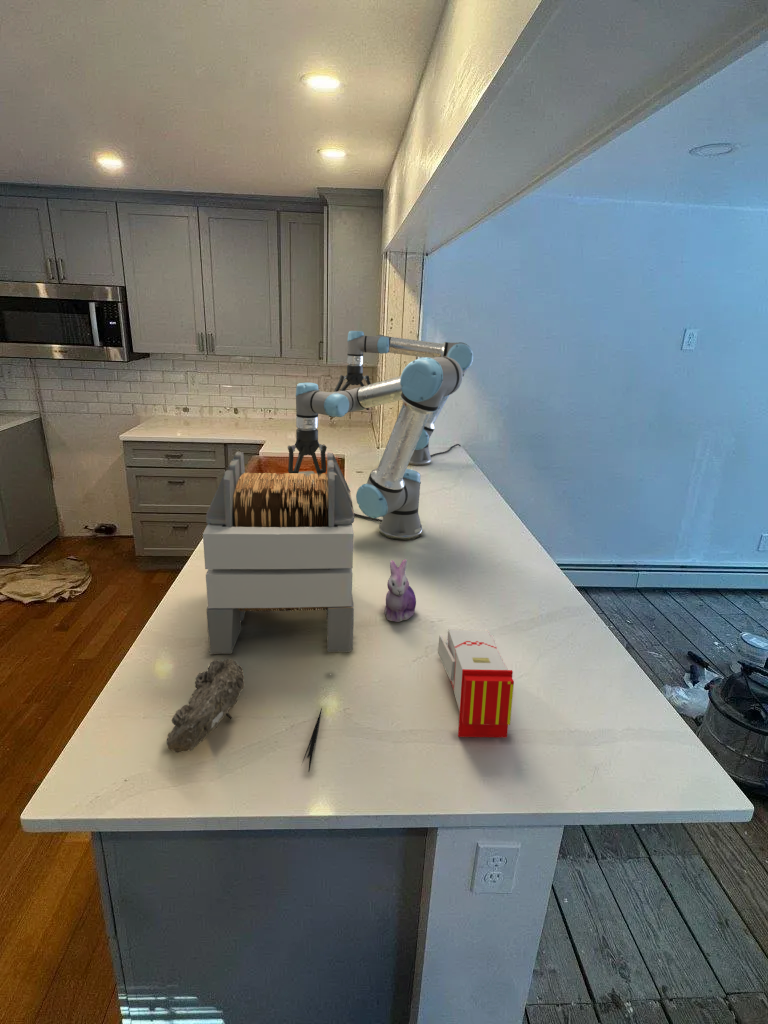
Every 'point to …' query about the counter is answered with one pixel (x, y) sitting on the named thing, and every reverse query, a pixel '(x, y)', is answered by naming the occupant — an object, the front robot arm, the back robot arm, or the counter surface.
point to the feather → (313, 740)
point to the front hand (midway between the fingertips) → (307, 492)
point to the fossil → (206, 705)
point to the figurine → (399, 594)
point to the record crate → (279, 550)
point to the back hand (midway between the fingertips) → (353, 409)
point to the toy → (478, 682)
